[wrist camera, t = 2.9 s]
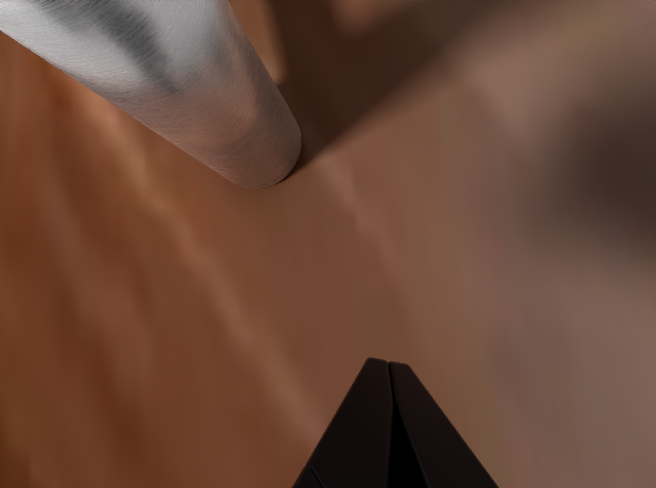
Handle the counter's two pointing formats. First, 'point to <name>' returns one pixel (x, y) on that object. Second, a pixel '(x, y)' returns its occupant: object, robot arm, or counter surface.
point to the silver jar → (171, 76)
